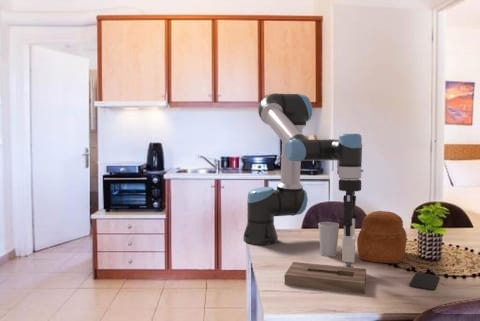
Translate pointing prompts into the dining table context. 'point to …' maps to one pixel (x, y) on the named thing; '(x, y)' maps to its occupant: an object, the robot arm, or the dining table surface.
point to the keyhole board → (326, 277)
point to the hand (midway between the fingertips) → (349, 240)
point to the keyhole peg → (348, 253)
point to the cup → (328, 238)
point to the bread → (382, 238)
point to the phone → (424, 281)
